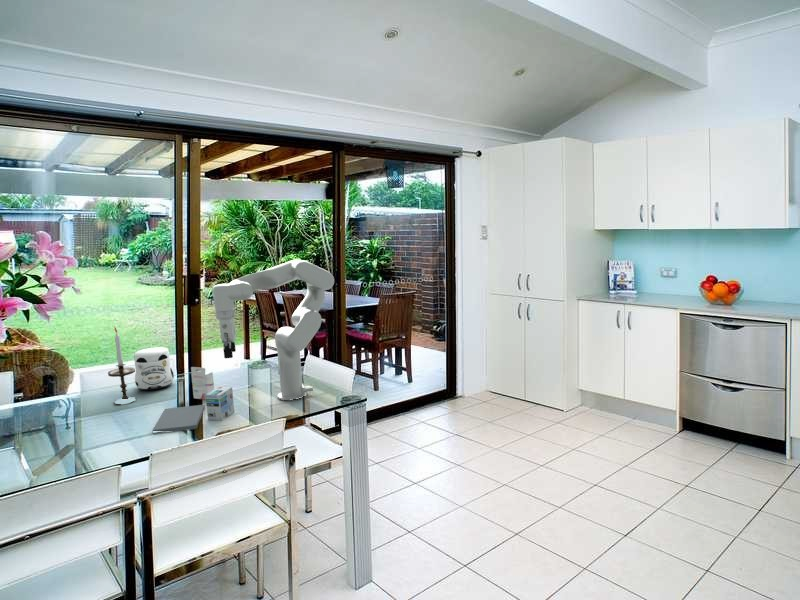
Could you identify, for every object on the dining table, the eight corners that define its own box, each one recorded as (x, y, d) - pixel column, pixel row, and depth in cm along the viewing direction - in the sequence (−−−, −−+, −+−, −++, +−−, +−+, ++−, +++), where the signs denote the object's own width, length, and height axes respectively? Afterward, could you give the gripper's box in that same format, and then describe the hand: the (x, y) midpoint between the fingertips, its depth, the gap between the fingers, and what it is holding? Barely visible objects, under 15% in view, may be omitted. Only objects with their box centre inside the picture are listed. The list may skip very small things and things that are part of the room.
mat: (204, 407, 242) (204, 404, 242) (196, 428, 219) (196, 425, 218) (165, 412, 239) (164, 408, 239) (152, 433, 216) (152, 430, 215)
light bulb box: (222, 420, 226) (219, 395, 224) (207, 420, 227) (204, 394, 226) (235, 411, 236) (232, 386, 235) (220, 410, 238) (218, 386, 236)
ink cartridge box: (215, 396, 257) (212, 365, 254) (208, 400, 252) (205, 368, 250) (200, 394, 260) (197, 364, 257) (193, 398, 255) (189, 367, 253)
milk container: (151, 394, 263) (146, 357, 260) (128, 390, 272) (123, 353, 269) (182, 384, 278) (178, 348, 275) (159, 379, 287) (155, 345, 284)
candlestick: (121, 407, 248) (111, 329, 242) (106, 403, 253) (96, 327, 247) (143, 399, 257) (134, 324, 251) (128, 396, 262) (119, 322, 257)
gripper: (232, 317, 222) (237, 359, 225) (237, 309, 239) (241, 348, 242) (212, 319, 221) (217, 361, 224) (219, 311, 238) (223, 350, 241)
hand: (230, 354), depth 233 cm, fingers open, 9 cm apart
